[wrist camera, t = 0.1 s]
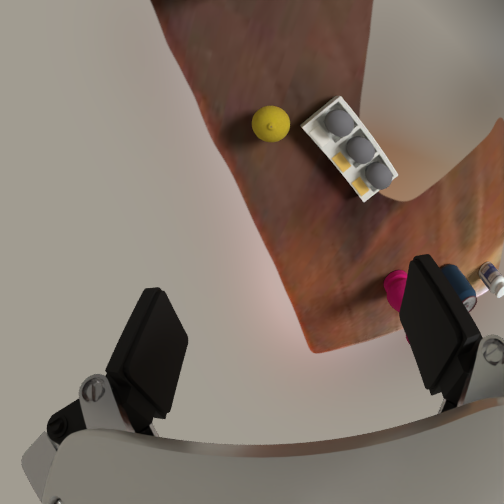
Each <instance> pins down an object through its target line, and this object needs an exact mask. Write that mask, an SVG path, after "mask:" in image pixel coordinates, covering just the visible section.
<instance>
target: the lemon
mask: <svg viewBox="0 0 504 504" xmlns="http://www.w3.org/2000/svg"><path fill="white" fill-rule="evenodd" d="M289 128H290V120H289V117H288V115H287V114H286V113H285V111H283V110H282V109H281V108H278V107H276V106H265V107H263V108H261V109H259V110H258V111H257V112H256V113H255V114H254V116H253V119H252V129H253V131H254V133H255V134H256V136H257V137H258V138H260V139H261V140H263V141H266V142H276V141H279V140H281V139H283V138H284V137H285V136H286V135H287V133H288V131H289Z"/></svg>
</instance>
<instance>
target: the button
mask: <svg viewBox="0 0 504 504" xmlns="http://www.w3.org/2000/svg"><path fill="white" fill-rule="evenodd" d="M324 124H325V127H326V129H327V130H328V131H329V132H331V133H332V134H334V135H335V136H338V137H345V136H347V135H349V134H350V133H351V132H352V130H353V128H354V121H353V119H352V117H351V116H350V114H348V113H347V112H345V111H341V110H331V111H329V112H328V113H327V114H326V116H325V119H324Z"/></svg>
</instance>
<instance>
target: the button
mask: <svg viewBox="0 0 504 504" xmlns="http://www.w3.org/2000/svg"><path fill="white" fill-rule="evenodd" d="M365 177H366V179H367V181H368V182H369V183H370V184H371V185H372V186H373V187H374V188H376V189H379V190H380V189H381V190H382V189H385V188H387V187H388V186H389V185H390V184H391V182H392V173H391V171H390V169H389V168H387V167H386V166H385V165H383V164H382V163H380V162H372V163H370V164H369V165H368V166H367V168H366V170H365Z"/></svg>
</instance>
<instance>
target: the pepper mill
mask: <svg viewBox="0 0 504 504" xmlns="http://www.w3.org/2000/svg"><path fill="white" fill-rule="evenodd" d="M406 280H407V273H406V272H405V271H402V270H397V271H393V272H392V273H390V274H389V275H388V276H387V277H386V278H385V280H384V288H385V290H386V292H387V300H388V302H389V304H390V305H391V306H392V307H393V308H394V309H395V310H397V311H398V312H400V307H401V303H402V299H403V295H404V290H405V285H406ZM406 339H407V341H408V338H407V336H406ZM408 343H409V341H408ZM409 344H410V343H409Z"/></svg>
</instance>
